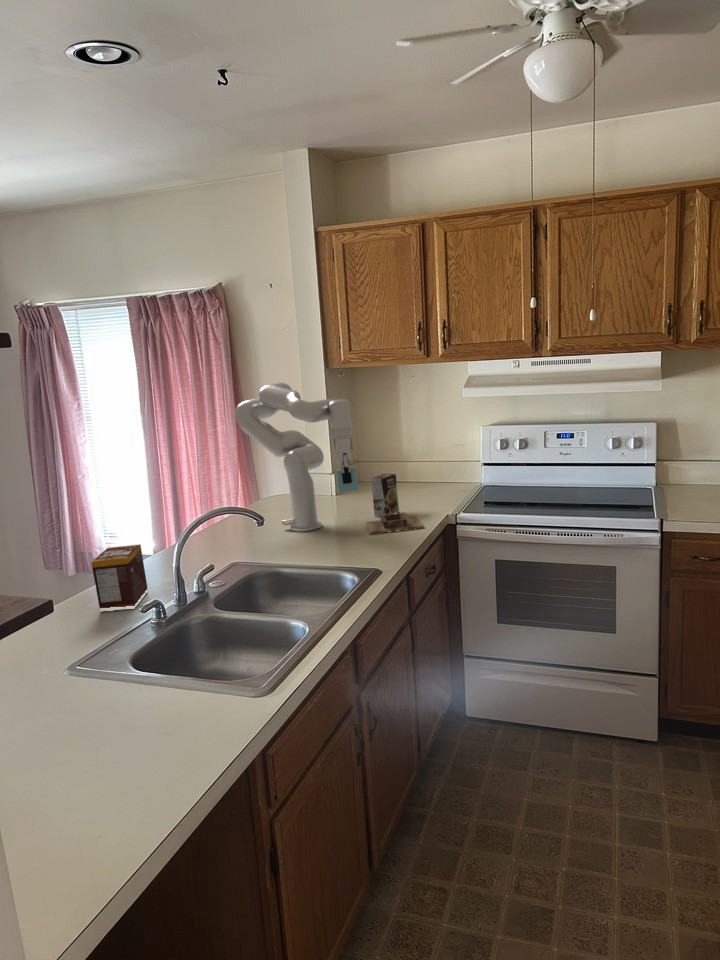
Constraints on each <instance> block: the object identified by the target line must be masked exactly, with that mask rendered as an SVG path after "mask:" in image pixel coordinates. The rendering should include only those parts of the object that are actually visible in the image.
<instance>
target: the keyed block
mask: <svg viewBox="0 0 720 960" xmlns="http://www.w3.org/2000/svg"><path fill="white" fill-rule="evenodd" d="M350 472H351V480H352V483H347V484H343V477H342V473H343V471H342V468H337V469H336V476H337V479H336V480H337V488H338V489H337V490H338V492H339V493H344V492H345V493H346V492H354V491H358V490H359V489H358V478H357V476H358V475H357V469H356V467H355V466H354V467H353V466H352V467H350Z"/></svg>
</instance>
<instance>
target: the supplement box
mask: <svg viewBox="0 0 720 960" xmlns="http://www.w3.org/2000/svg"><path fill="white" fill-rule="evenodd" d="M141 545H142V544H131V545H130V544H129V545H121V546H113V547H112V546H110V547H109V546H108V547H107V548H105V549H104V550H103V551H102V552H101V553H100V554H99V555H97V556H96V557H95V558H94V560H93V559H92V561H91V568H92V573H93V578H94V584H95V589H96V597H97V600H98V606H99V609H100V608H110V607H126V606H135V604H136V603H137V602H138V600H139V599H140V598H141V596H142V595H143V594H144V593H145V591H146V590H147V588H148V582H147V577H146V571H145V565H144V558H143V551H142V546H141Z"/></svg>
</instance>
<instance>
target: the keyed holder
mask: <svg viewBox="0 0 720 960" xmlns="http://www.w3.org/2000/svg"><path fill="white" fill-rule="evenodd" d="M379 518H380V519H378V520H371V521H365V526H366V529H367V528H368V529H367V531H368V534H369V535H370V534H372V535H378V534H377V533H381V534H383V533H382V532H388V531H396V530H405V529H414V530H416V529H415V528H422V529H424V525H423V522H422V521H420V519H419V518H418V517H417V515H412V516H405V515H404V514H403V513H402V512H399V513H396V514H387V515H380V517H379Z"/></svg>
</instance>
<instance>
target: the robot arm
mask: <svg viewBox="0 0 720 960" xmlns="http://www.w3.org/2000/svg"><path fill="white" fill-rule="evenodd" d="M258 391H259V392H258V397H256V398H252V399H248V400H244V401H242V402H240V403H239V404H238V405H237V406H236V408H235V420H236V422H237V424H238V426H239V427H240V430H241V431H243V433H245V435H248V436H249V437H251V438H252V439H253V440H255V442H257V443H258V444H259V445H260V446H262V447H263V448H265V449H266V450H267V451H268V452H270V454H272V455H273V456H275V457H277V458H283V457H284V458H283V467H284V469H285V472H286V476H287V480H288V488H289V495H290V504H291V505H290V506H291V512H292V516H291V518H289V519H282V520H281V524H282V526H289V528H290V530H291V531H292V532H297V533H298V532H309V531H314V530H317V529H321V527H322V526H323V523H322V521H320V520H318V510H317V503H316V501H317V500H316V494H315V486H314V484H315V483H314V480H313V477H312V475H311V473H310V471H311V470H314V469H316V468H319V467H320V466H321V465H322V464H323V463H324V460H325V459H324V458H325V457H324V456H325V455H324V452H323V451H322V449H321V448H320V446H318V445H317V444H316V443H315V442H313V441H312V440H311V439H309V438H308V437H307V436H305V435H304V434H303V433H301V432H300V431H297V430H294V429H290V430H285V431H279V430H278V429H276V428H275V427H274V426H273V425H271V424H270V423H268V422H266V421H263V420H264V419H268V418H271V417H273V416H274V415H275V414H277V413H278V412H279V411H284V412H287V413H289V414H290V416H292V417H293V418H294V419H297V420H300V421H303V422H307V423H319V422H323V421H328V420H330V427H331V428H330V429H331V438H332V439H333V440H334V443H335V444H334V445H335V453H336V463H337V465H338V466H340V467H341V469H342V471H343V473H342V477H343V484H347V483H352V480H351V472H350V468H351V466H350V465H351V464H352V452H351V451H352V448H351V440H350V439H351V438H352V437H353V425H352V416H351V408H350V407H351V406H350V402H349V400H347V399H344V398H342V399H330V398H329V399H327V398H326V399H320V400H315V401H308V400H303V399H302V398H301V395H300V393H299V392H298V391H297V390H294V389H292V388H291V386H290V385H289V384H287V383H286V382H277V383H271V384H266V385H264V386H262V387H261V388H260V389H259V390H258Z"/></svg>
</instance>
